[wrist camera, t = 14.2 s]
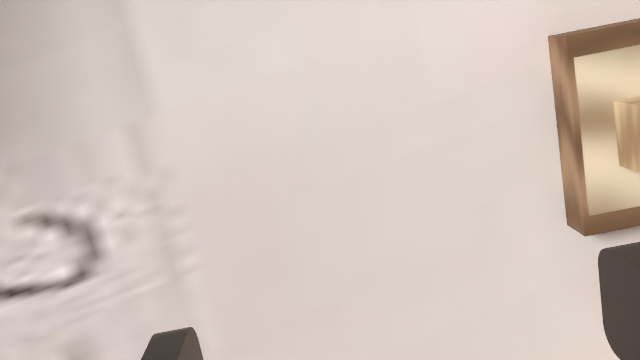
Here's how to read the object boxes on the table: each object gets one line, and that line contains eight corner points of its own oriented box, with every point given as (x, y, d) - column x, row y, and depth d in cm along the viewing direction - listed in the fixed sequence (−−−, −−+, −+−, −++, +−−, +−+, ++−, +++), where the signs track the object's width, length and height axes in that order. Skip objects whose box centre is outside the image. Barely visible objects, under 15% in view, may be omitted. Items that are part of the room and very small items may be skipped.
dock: (548, 36, 42) (567, 35, 39) (688, 8, 42) (717, 6, 39) (567, 224, 45) (586, 237, 43) (698, 199, 45) (726, 209, 43)
